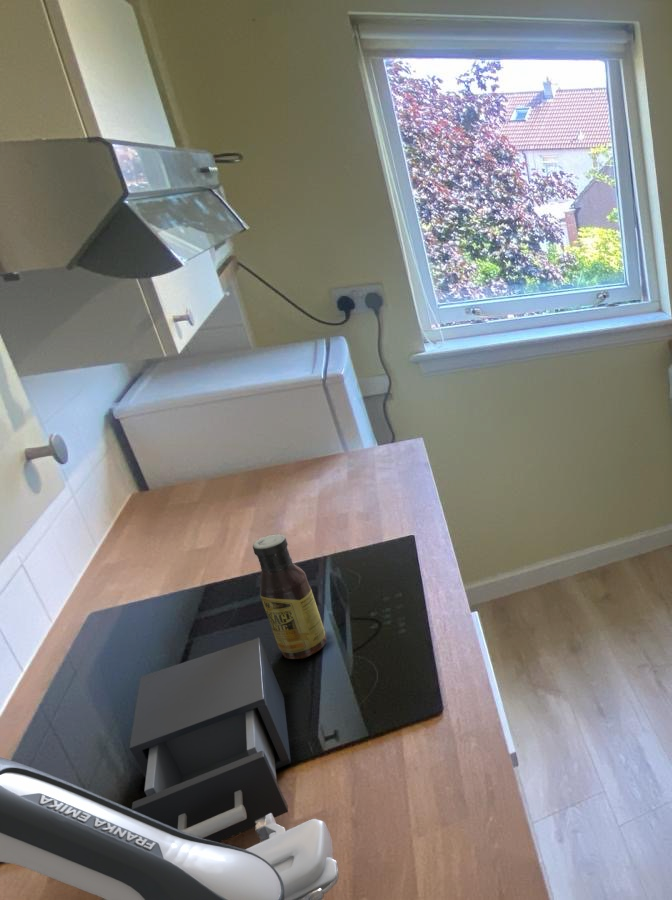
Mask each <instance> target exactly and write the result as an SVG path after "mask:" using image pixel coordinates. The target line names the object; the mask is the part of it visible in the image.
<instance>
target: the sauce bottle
mask: <svg viewBox="0 0 672 900" xmlns="http://www.w3.org/2000/svg"><path fill="white" fill-rule="evenodd" d="M288 545H289V544H288V540H287V538H286V536H285V535H282V534H278V533H277V534H270V535H266V536H263V537H260V538H259V539H257V540H256V541H254V542H253V544H252V549H253V554H254V555H256V557H257V559H258V563H259V565H260V570H261V572H260V585H259V596H260V601H261V603H262V605H263V608H264V611H265V614H266V617H267V619H268V622H269V626H270V628H271V631H272V633H273V636H274V639H275V641H276V644H277V647H278V649H279V650H280V652H281V654H282V655H283V657H284V658H285V659H288V660H302V659H306V658H308V657H310V656H312V655H315V654H317V653H318V652H320V651H321V650H322V649H323V648H324V646H326V643H327V640H328V639H327V636H326V630H325V627H324V623H323V621H322V618H321V615H320V612H319V608H318V605H317V603H316V599H315V597H314V593H313V590H312V586H311V585H310V584H309V583H310V582H309V581H308V577H307V574H306V572H305V571H304V569H302V568H301V567H300V566H298V565H296V564H295V563H293V559H292V556H290V552H289V549H288Z"/></svg>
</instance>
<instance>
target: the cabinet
mask: <svg viewBox="0 0 672 900" xmlns="http://www.w3.org/2000/svg"><path fill="white" fill-rule="evenodd" d="M254 708H258V710H259V712H260V715H261V717H262V719H263V722H264V724H265V726H266V729H267V731H268V733H269V736H270V738H271V740H272V742H273V745H274V757H275V769H276V770H277V769H280V768H283V767H284V766H285V767H286V766H288V765H290V764H291V763H292V760H291V759H292V758H291V750H290V742H289V732H288V724H287V715H286V714H287V713H286V706H285V697H284V695H283V692H282V689H281V687H280V685H279V682H278V680H277V677H276V675H275V673H274V670H273V668H272V664H271V663H270V660H269V658H268V655H267V653H266V650H265V648H264V646H263V643H262V641H261V638H260V637H257V638H253V639H250V640H248V641H245V642H241V643H238V644H235V645H232V646H228V647H227V648H224V649H220V650H217V651H213V652H211V653H208V654H205V655H202V656H198V657H196V658H193V659H190V660H186V661H183V662H181V663H178V664H175V665H172V666H169V667H165V668H162V669H159V670H156V671H153V672H150V673H148V674H144V675H142V676H140V677H139V682H138V689H137V695H136V701H135V708H134V716H133V722H132V727H131V734H130V741H129V748H128V749H129V751H130V753H131V754H132V756H133V758H134V760H135V762H136V764H137V765H138V768H139V770H140V771H141V773H142V775H143V776H144V778H145V779H146V773H147V764H148V756H149V747H152V746H155V745H157V744H160V743H163V742H165V741H168V740H171V739H174V738H176V737H179V736H182V735H184V734H187V733H190V732H192V731H195V730H198V729H200V728H203V727H206V726H208V725H211V724H214V723H217V722H219V721H222V720H225V719H227V718H230V717H233V716H235V715H238V714H241V713H243V712H246V711H249V710H251V709H254Z"/></svg>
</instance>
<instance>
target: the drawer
mask: <svg viewBox="0 0 672 900" xmlns="http://www.w3.org/2000/svg"><path fill="white" fill-rule="evenodd" d="M143 789H144V791H143V792H144V794H145V795H146V796H145V797H143V798H139V799H137V800H135V801H133V802H132V803H131V809H132V810H134V811H136V812H138V813H141V814H143V815H145V816H148V817H150V818H152V819H155V820H157V821H159V822H161V823H164V824H166V825H168V826H171V827H173V828H175V829H178V830H180V831H183V832H185V833H188V834H190V835H193V836H196V837H199V838H203V839H206V840H210V841H214V842H219V843H222V842H224V841H226V840H229V839H231V838H232V837H235V836H237V835H239V834H241V833H243V832H245V831H248V830H251V829H253V828H255V825H256V824H255V820H257V819H259V818H261V817H263V816H266V815H268V814H270V813H272V815H273V817H274V819H275V818H277V817H280V816H282V815H284V814H287V813H288V812H289V805H288V803H287V801H286V798H285V796H284V794H283V792H282V789H281V787H280V785H279V782H278V780H277V769H275V757H274V745H273V742H272V740H271V738H270V736H269V733H268V731H267V729H266V726H265V724H264V722H263V719H262V717H261V715H260V712H259V710H258V708H254V709H251V710H249V711H246V712H243V713H241V714H238V715H235V716H233V717H230V718H227V719H225V720H222V721H219V722H217V723H214V724H211V725H208V726H206V727H203V728H200V729H198V730H195V731H192V732H190V733H187V734H184V735H182V736H179V737H176V738H174V739H171V740H168V741H165V742H163V743H160V744H157V745H155V746H152V747H149V756H148V764H147V773H146V778H145V781H144V788H143Z"/></svg>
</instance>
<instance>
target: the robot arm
mask: <svg viewBox="0 0 672 900" xmlns="http://www.w3.org/2000/svg"><path fill="white" fill-rule="evenodd" d="M255 824H256V825H255V827H254V828H255V832H256V834H257V835H258V838H259V841H260V842H259V843H256V844H253V845H252V846H250V847H248V848H246V849H244V848H242V847H238V846H234V845H230V844H226V843H222V842H214V841H210V840H206V839H203V838H199V837H196V836H193V835H190V834H188V833H185V832H183V831H180V830H178V829H175V828H173V827H171V826H168V825H166V824H164V823H161V822H159V821H157V820H155V819H152V818H150V817H148V816H145V815H143V814H141V813H138V812H136V811H134V810H132V808H129V807H127V806H125V805H123V804H120V803H117V802H115V801H113V800H111V799H109V798H106V797H104V796H102V795H99V794H97V793H95V792H92V791H90V790H89V789H86V788H83V787H80V786H79V785H76V784H74V783H71V782H69V781H66V780H64V779H61V778H59V777H57V776H54V775H53V774H49V773H47V772H45V771H42V770H39V769H36V768H35V767H31V766H28V765H26V764H23V763H20V762H17V761H14V760H11V759H8V758H4V757H1V756H0V863H5V864H12V865H17V866H20V867H23V868H25V869H28V870H30V871H33V872H34V873H38V874H40V875H43V876H45V877H48V878H50V879H53V880H55V881H58V882H61V883H64V884H66V885H68V886H71V887H73V888H76V889H79V890H81V891H84V892H86V893H89V894H91V895H94V896H96V897H99V898H101V899H104V900H322V899H324V898H325V894H326V893H328V892H330V890H332V888H333V887H335V885H337V883H338V881H339V878H340V870H339V864H338V861H337V860H336V859H334V846H333V839H332V836H331V834H330V831H329V829H328V826H327V824H326V822H325V821H324V820H321V819H318V818H312V819H309V820H306V821H304V822H302V823H300V824H298V825H296V826H294V827H291V828H289V829H287V830H286V828H285V827H284V826H282V825H280V824H278V823H277V822H276V819H275V818H274V817H273V815H272V813H270V814H268V815H266V816H263V817H261V818H259V819H257V820H255Z"/></svg>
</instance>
